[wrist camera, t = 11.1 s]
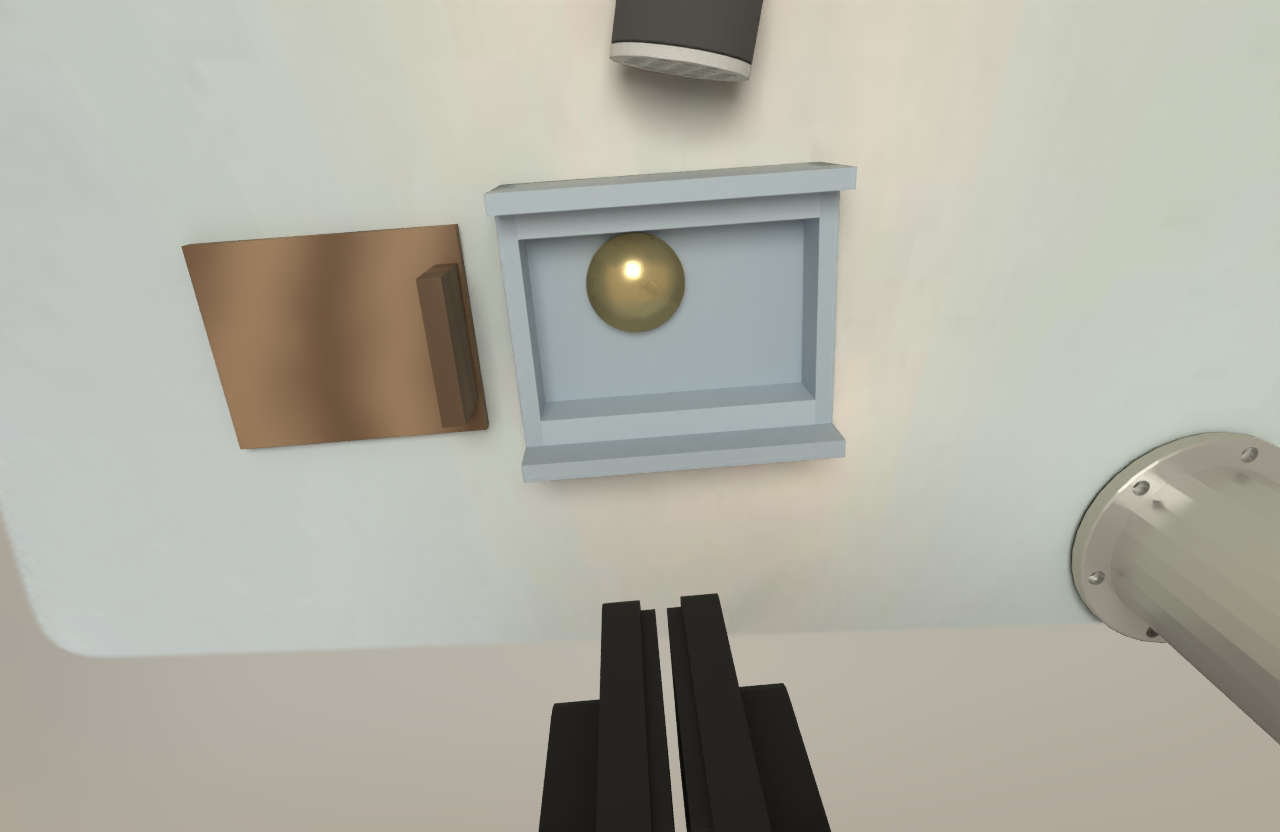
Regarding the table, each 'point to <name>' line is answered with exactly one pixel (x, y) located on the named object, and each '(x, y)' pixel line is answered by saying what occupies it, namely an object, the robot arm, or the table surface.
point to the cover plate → (341, 335)
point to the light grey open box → (676, 321)
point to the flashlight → (687, 37)
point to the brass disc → (635, 281)
